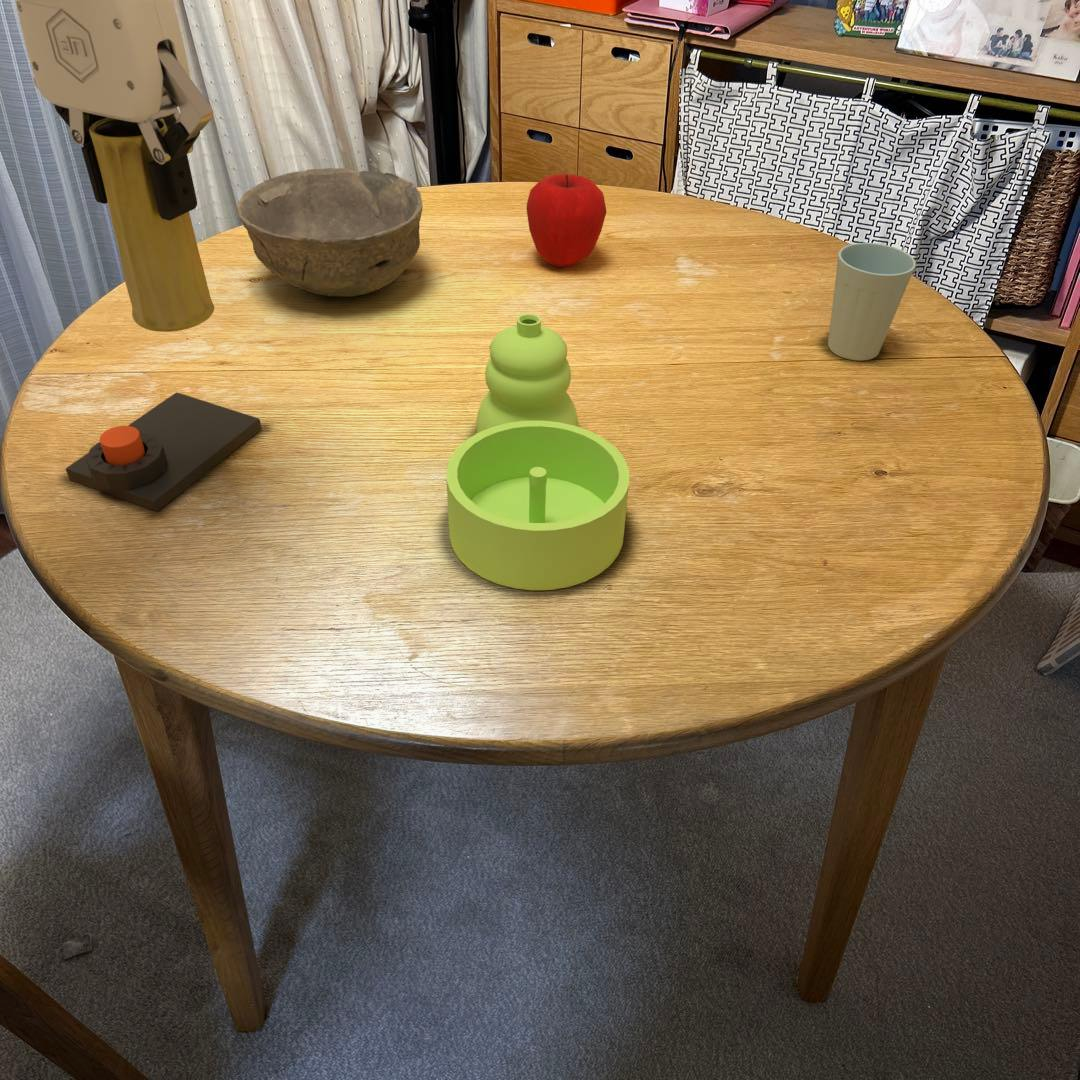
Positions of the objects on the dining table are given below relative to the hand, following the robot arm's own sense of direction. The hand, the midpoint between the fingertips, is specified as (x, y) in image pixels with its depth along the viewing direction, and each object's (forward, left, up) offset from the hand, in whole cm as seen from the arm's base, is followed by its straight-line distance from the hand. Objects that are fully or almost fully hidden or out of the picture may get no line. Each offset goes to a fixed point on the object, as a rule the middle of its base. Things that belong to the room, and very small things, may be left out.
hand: (146, 202), depth 70 cm
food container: (+10, -27, -25) cm, 38 cm away
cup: (+49, -47, -25) cm, 72 cm away
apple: (+54, -10, -25) cm, 60 cm away
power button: (-4, +5, -22) cm, 23 cm away
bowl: (+36, +11, -25) cm, 45 cm away
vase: (0, 0, -9) cm, 9 cm away
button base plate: (0, +5, -24) cm, 25 cm away
